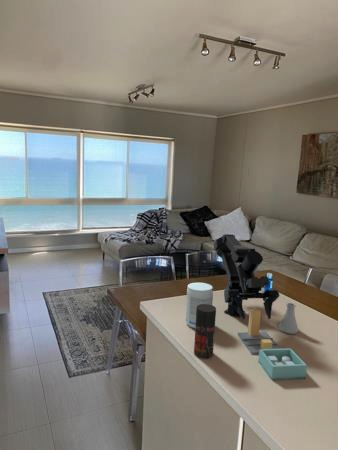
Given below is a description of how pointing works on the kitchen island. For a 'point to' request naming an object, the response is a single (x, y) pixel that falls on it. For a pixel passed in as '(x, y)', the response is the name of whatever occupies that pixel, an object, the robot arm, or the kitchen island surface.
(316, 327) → the kitchen island surface
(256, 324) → the gray board with blocks
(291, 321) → the flask
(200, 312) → the deodorant
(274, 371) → the tub
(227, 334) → the kitchen island surface
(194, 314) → the supplement tub
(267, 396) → the kitchen island surface
